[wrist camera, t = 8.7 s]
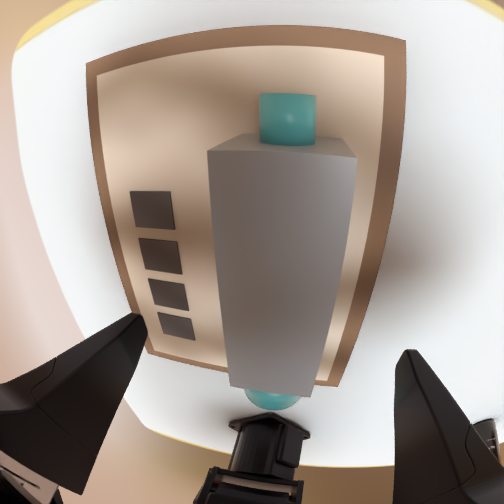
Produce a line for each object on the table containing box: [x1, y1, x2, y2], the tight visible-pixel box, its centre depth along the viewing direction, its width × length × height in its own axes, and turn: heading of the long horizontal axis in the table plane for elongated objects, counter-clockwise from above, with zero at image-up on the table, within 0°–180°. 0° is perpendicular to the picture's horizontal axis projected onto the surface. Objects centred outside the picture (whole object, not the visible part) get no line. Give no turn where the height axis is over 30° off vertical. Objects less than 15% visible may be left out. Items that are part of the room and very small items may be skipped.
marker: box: [207, 93, 357, 410], centre depth 12 cm, size 15×4×4 cm, turn 0°
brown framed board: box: [86, 25, 406, 387], centre depth 14 cm, size 21×15×1 cm
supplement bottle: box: [473, 420, 501, 463], centre depth 16 cm, size 7×7×12 cm
